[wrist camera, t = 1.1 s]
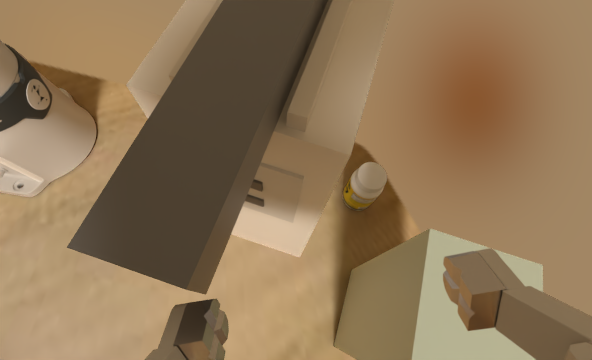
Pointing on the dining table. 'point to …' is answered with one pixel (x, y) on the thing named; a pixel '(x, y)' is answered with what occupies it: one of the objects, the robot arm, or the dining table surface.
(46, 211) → the dining table surface
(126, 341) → the dining table surface
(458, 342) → the pale green block
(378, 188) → the supplement bottle
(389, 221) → the dining table surface
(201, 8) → the outlet wall
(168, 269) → the bar
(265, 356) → the dining table surface
